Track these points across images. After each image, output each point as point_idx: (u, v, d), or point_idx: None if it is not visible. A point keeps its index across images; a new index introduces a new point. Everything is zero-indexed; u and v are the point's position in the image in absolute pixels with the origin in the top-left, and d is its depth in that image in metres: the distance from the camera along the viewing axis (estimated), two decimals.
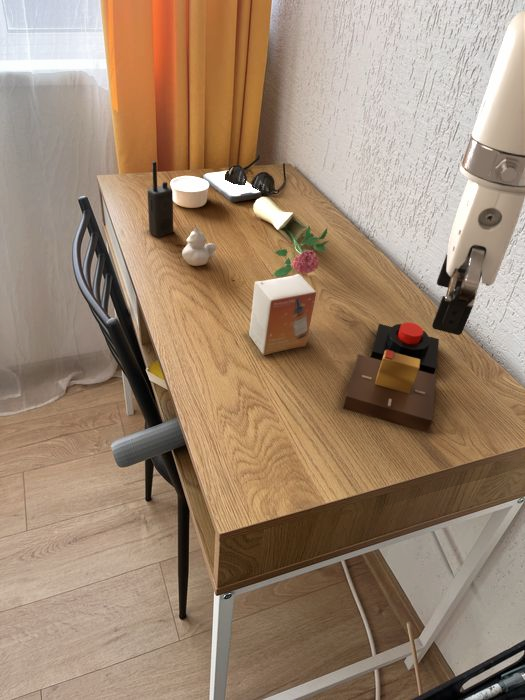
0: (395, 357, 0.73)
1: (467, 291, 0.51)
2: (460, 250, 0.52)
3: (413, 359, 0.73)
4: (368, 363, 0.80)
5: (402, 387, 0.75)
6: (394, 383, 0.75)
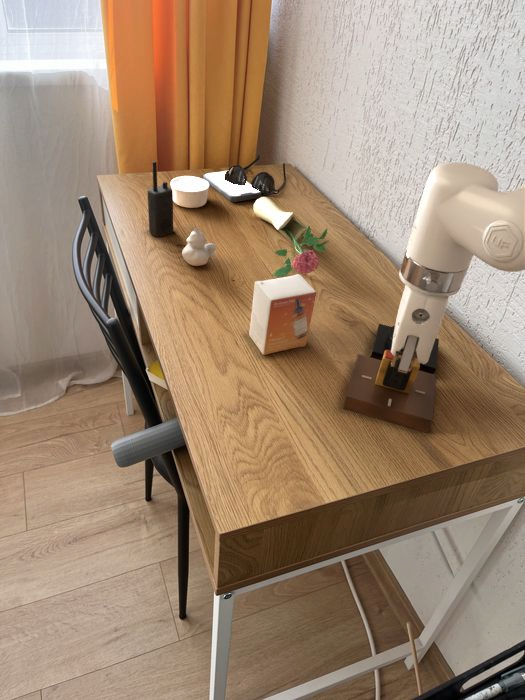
0: None
1: None
2: (399, 337, 0.65)
3: None
4: (368, 363, 0.80)
5: None
6: None
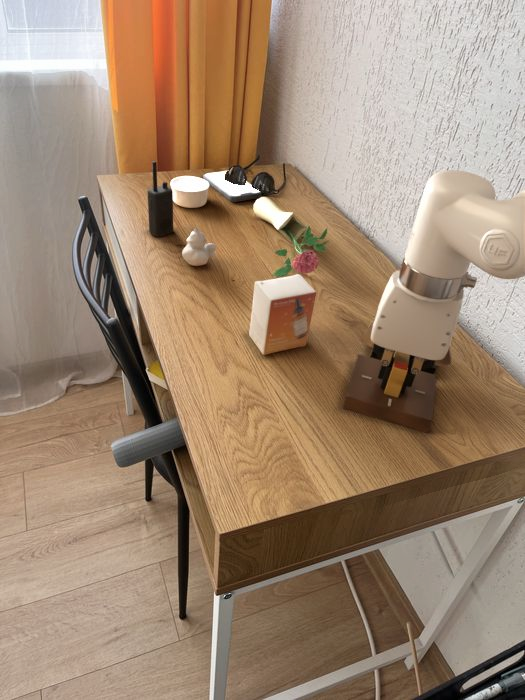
0: (402, 362, 0.72)
1: None
2: None
3: None
4: (368, 363, 0.80)
5: None
6: None
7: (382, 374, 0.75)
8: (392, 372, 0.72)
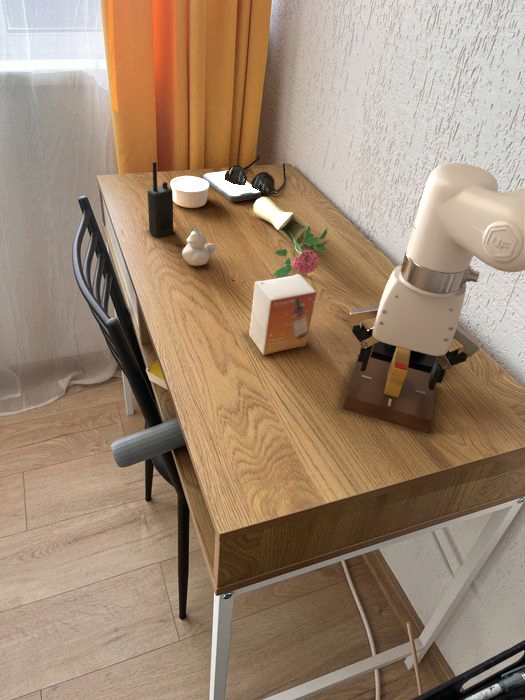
0: (402, 362, 0.72)
1: None
2: (453, 336, 0.67)
3: (399, 351, 0.74)
4: (368, 363, 0.80)
5: None
6: None
7: (362, 357, 0.74)
8: (392, 372, 0.72)
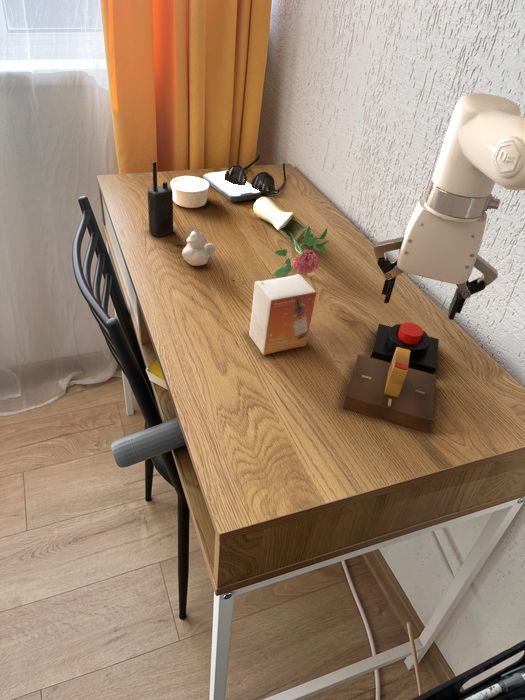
0: (402, 362, 0.72)
1: None
2: (474, 264, 0.71)
3: (399, 351, 0.74)
4: (368, 363, 0.80)
5: None
6: None
7: (386, 289, 0.78)
8: (392, 372, 0.72)
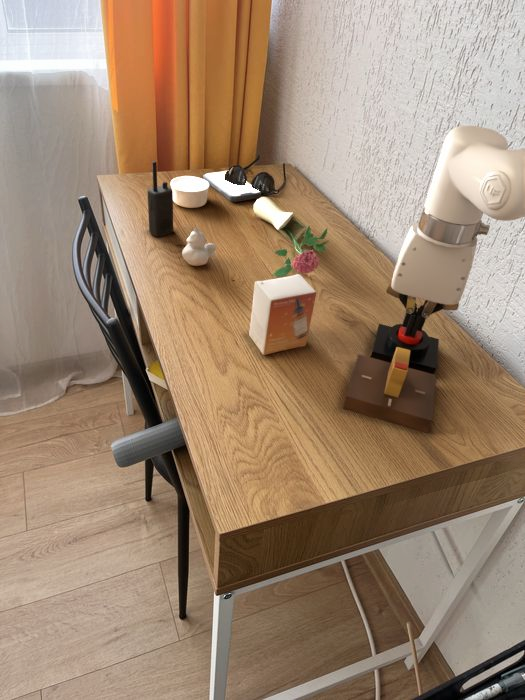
0: (402, 362, 0.72)
1: None
2: None
3: (399, 351, 0.74)
4: (368, 363, 0.80)
5: None
6: None
7: (406, 322, 0.81)
8: (392, 372, 0.72)
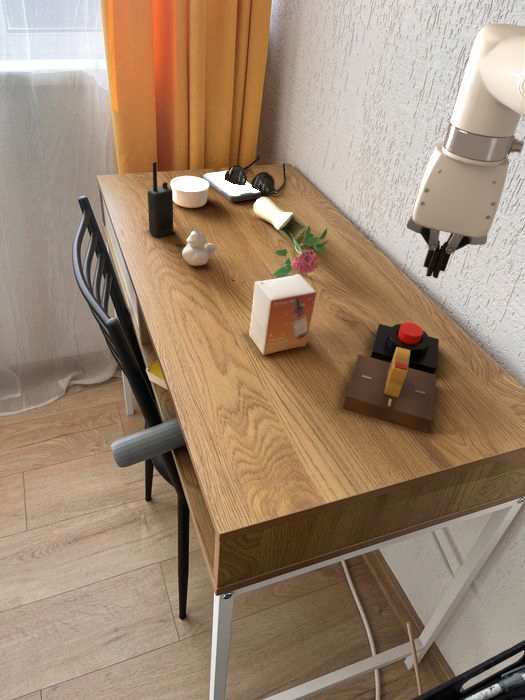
0: (402, 362, 0.72)
1: None
2: None
3: (399, 351, 0.74)
4: (368, 363, 0.80)
5: None
6: None
7: (428, 261, 0.74)
8: (392, 372, 0.72)
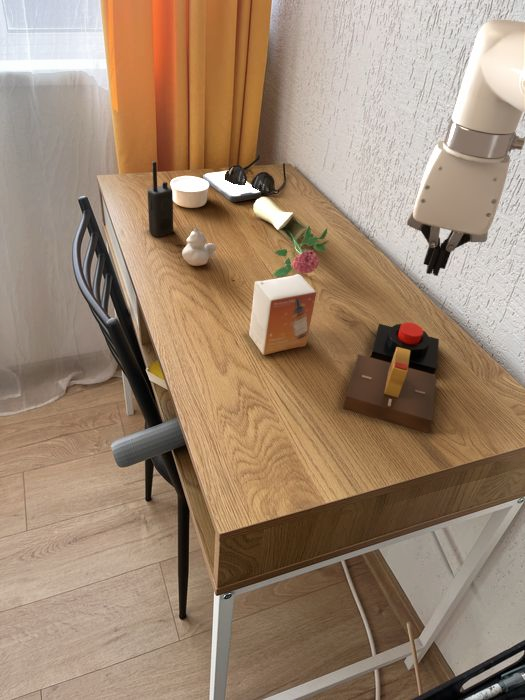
0: (402, 362, 0.72)
1: None
2: (495, 211, 0.67)
3: (399, 351, 0.74)
4: (368, 363, 0.80)
5: None
6: None
7: (429, 259, 0.74)
8: (392, 372, 0.72)
